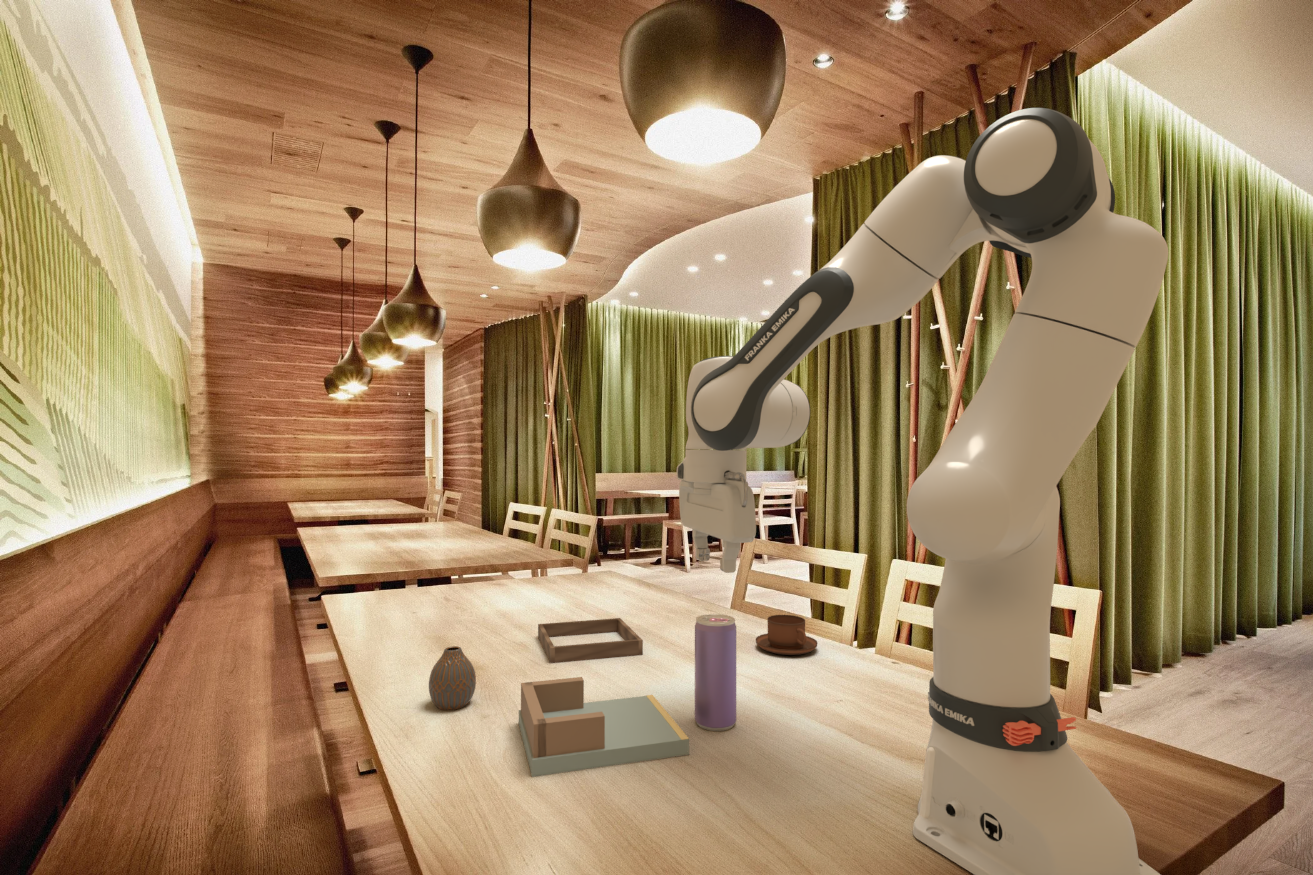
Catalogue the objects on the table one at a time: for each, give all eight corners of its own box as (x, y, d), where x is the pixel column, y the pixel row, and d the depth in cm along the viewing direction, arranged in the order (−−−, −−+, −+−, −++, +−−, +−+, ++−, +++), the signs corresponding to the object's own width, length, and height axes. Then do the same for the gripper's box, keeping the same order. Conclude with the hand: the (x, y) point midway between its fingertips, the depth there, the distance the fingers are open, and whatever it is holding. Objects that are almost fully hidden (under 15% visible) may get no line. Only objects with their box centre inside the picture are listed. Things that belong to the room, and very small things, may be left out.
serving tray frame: (642, 655, 126) (642, 640, 126) (550, 664, 120) (550, 647, 120) (619, 631, 142) (620, 617, 143) (538, 638, 137) (538, 623, 137)
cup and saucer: (829, 650, 130) (829, 619, 130) (795, 664, 121) (795, 630, 122) (778, 638, 138) (778, 608, 139) (743, 650, 130) (743, 619, 130)
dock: (688, 754, 85) (689, 707, 85) (531, 776, 79) (532, 726, 79) (652, 708, 100) (652, 668, 100) (518, 724, 94) (518, 681, 94)
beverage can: (734, 734, 91) (734, 624, 91) (691, 730, 92) (691, 622, 92) (737, 717, 97) (737, 614, 97) (697, 713, 98) (697, 612, 98)
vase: (424, 716, 97) (425, 656, 97) (432, 698, 104) (433, 642, 104) (472, 713, 98) (473, 654, 98) (478, 696, 105) (478, 640, 105)
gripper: (768, 473, 86) (767, 578, 86) (709, 467, 106) (708, 553, 106) (724, 473, 84) (722, 581, 84) (672, 467, 104) (671, 555, 104)
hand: (714, 565), depth 95 cm, fingers open, 8 cm apart
